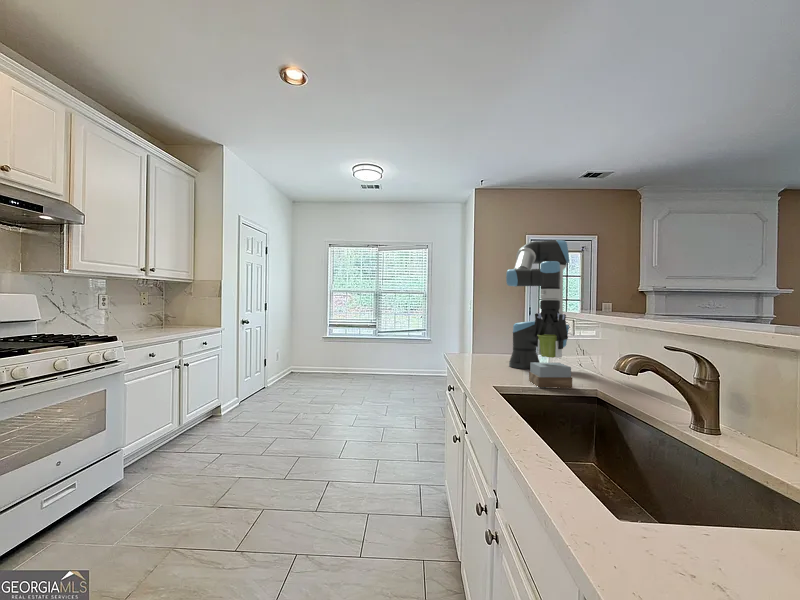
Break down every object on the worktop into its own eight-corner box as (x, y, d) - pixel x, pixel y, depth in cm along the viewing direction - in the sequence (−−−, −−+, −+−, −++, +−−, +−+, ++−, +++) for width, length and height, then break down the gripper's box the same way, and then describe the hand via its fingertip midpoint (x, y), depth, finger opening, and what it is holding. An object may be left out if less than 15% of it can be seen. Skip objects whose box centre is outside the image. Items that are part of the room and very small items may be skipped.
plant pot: (558, 355, 171) (558, 334, 171) (565, 358, 162) (565, 336, 162) (535, 355, 172) (535, 334, 172) (540, 358, 163) (540, 336, 163)
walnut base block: (529, 382, 174) (529, 371, 174) (560, 382, 173) (560, 372, 173) (538, 388, 161) (538, 377, 161) (572, 389, 160) (572, 377, 160)
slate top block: (530, 372, 173) (530, 362, 173) (559, 372, 173) (559, 362, 173) (540, 377, 161) (540, 366, 161) (571, 377, 161) (571, 367, 161)
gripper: (523, 299, 175) (523, 353, 175) (565, 299, 156) (564, 359, 156) (536, 299, 178) (536, 352, 178) (578, 299, 160) (578, 358, 159)
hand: (549, 355), depth 167 cm, fingers closed on plant pot, 8 cm apart
